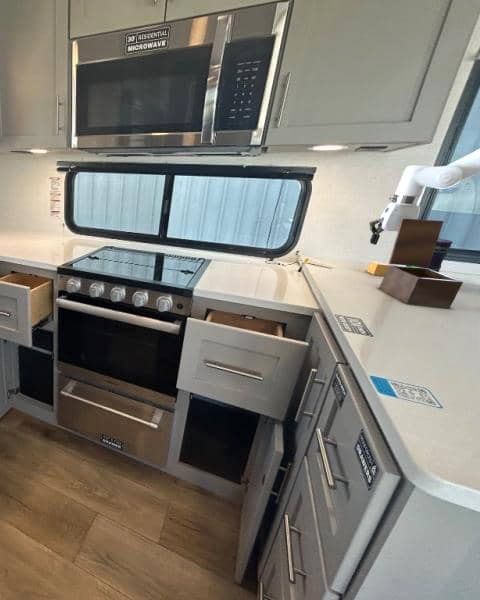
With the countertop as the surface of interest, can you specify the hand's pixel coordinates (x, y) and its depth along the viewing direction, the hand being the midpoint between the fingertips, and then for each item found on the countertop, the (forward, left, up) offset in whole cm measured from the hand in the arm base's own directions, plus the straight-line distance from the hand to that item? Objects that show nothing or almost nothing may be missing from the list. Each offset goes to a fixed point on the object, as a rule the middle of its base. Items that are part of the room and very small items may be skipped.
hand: (386, 245), depth 131 cm
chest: (-8, +28, -12) cm, 32 cm away
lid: (-5, +21, +5) cm, 22 cm away
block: (0, 0, -12) cm, 12 cm away
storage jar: (-14, -10, -12) cm, 21 cm away
